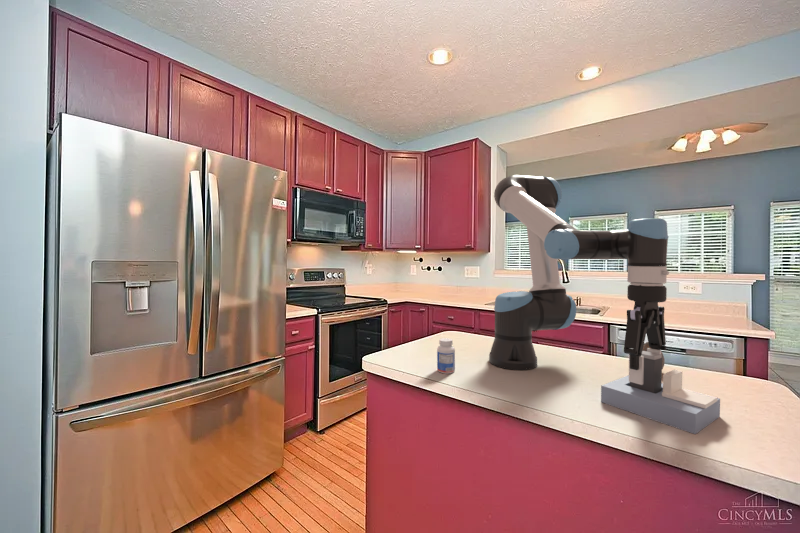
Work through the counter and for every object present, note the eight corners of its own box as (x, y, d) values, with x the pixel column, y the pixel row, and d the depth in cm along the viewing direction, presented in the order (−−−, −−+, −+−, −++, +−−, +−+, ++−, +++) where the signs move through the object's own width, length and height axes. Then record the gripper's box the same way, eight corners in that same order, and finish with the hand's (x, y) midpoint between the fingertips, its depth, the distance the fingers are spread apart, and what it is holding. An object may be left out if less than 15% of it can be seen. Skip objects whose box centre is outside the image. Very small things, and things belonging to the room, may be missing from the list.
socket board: (601, 401, 83) (601, 385, 82) (629, 389, 90) (629, 374, 90) (695, 434, 67) (695, 414, 67) (719, 416, 75) (720, 398, 75)
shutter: (661, 396, 76) (662, 374, 76) (674, 389, 80) (675, 369, 79) (705, 408, 69) (705, 385, 69) (717, 401, 73) (717, 378, 73)
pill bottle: (441, 367, 109) (441, 336, 109) (457, 369, 106) (457, 338, 106) (434, 372, 104) (434, 340, 104) (451, 375, 102) (451, 342, 101)
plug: (629, 401, 83) (630, 351, 83) (636, 398, 85) (638, 349, 85) (653, 408, 79) (654, 356, 79) (660, 405, 81) (662, 354, 81)
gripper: (643, 287, 72) (642, 393, 73) (684, 283, 84) (682, 375, 84) (606, 285, 79) (605, 382, 79) (648, 281, 90) (647, 367, 90)
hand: (645, 379), depth 82 cm, fingers open, 8 cm apart
